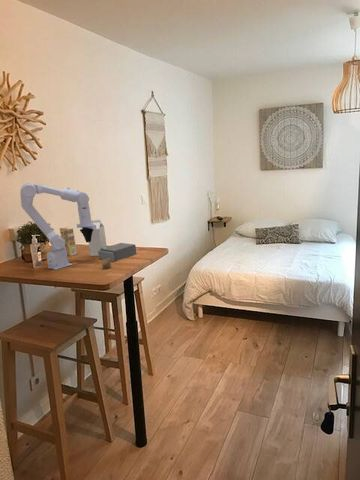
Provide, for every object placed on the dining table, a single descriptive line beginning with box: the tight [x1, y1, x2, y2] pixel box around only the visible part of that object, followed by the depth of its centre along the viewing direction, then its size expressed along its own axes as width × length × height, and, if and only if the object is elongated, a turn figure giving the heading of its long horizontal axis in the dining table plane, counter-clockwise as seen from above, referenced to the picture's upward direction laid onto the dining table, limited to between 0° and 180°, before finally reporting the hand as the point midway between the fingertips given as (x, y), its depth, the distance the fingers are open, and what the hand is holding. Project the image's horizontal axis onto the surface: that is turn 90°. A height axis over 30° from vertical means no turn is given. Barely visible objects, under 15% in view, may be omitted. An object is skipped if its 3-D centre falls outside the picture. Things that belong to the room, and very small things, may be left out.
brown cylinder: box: [101, 258, 112, 270], centre depth 182 cm, size 4×4×4 cm
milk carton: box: [88, 219, 108, 257], centre depth 210 cm, size 7×7×19 cm
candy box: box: [59, 226, 78, 256], centre depth 217 cm, size 9×4×15 cm, turn 44°
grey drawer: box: [98, 251, 116, 262], centre depth 201 cm, size 14×12×4 cm
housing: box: [100, 242, 137, 262], centre depth 202 cm, size 14×12×6 cm
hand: (88, 241), depth 198 cm, fingers closed
